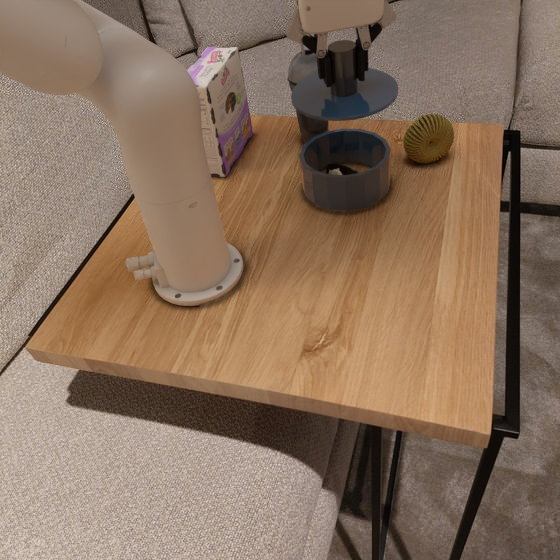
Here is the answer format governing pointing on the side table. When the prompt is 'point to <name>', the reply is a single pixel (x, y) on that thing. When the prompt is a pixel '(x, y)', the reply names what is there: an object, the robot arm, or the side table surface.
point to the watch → (339, 169)
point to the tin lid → (344, 89)
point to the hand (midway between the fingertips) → (343, 78)
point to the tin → (345, 188)
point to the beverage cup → (298, 71)
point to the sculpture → (428, 138)
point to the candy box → (222, 107)
